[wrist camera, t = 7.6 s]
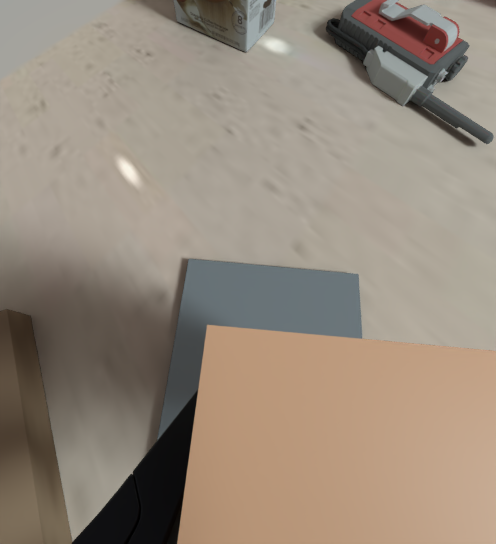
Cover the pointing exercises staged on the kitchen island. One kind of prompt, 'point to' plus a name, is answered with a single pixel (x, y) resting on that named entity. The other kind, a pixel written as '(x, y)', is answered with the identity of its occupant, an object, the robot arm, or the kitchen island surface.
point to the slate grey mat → (253, 313)
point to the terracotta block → (340, 442)
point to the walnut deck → (27, 444)
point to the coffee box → (228, 19)
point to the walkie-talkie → (406, 53)
